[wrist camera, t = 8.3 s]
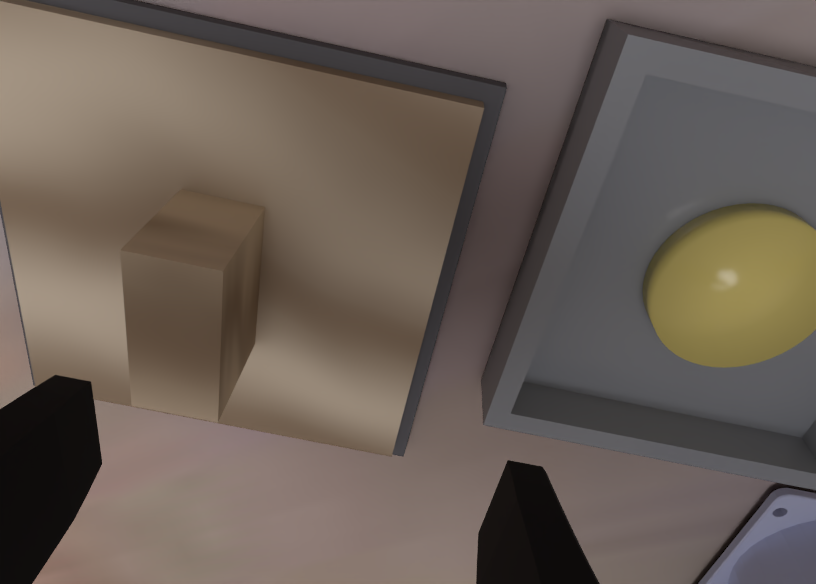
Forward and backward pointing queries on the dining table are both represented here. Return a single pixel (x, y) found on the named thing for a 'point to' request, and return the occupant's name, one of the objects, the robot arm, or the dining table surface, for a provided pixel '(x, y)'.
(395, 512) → the dining table surface
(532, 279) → the dish
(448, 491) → the dining table surface
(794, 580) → the robot arm
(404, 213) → the lid
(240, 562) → the dining table surface
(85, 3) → the mat
